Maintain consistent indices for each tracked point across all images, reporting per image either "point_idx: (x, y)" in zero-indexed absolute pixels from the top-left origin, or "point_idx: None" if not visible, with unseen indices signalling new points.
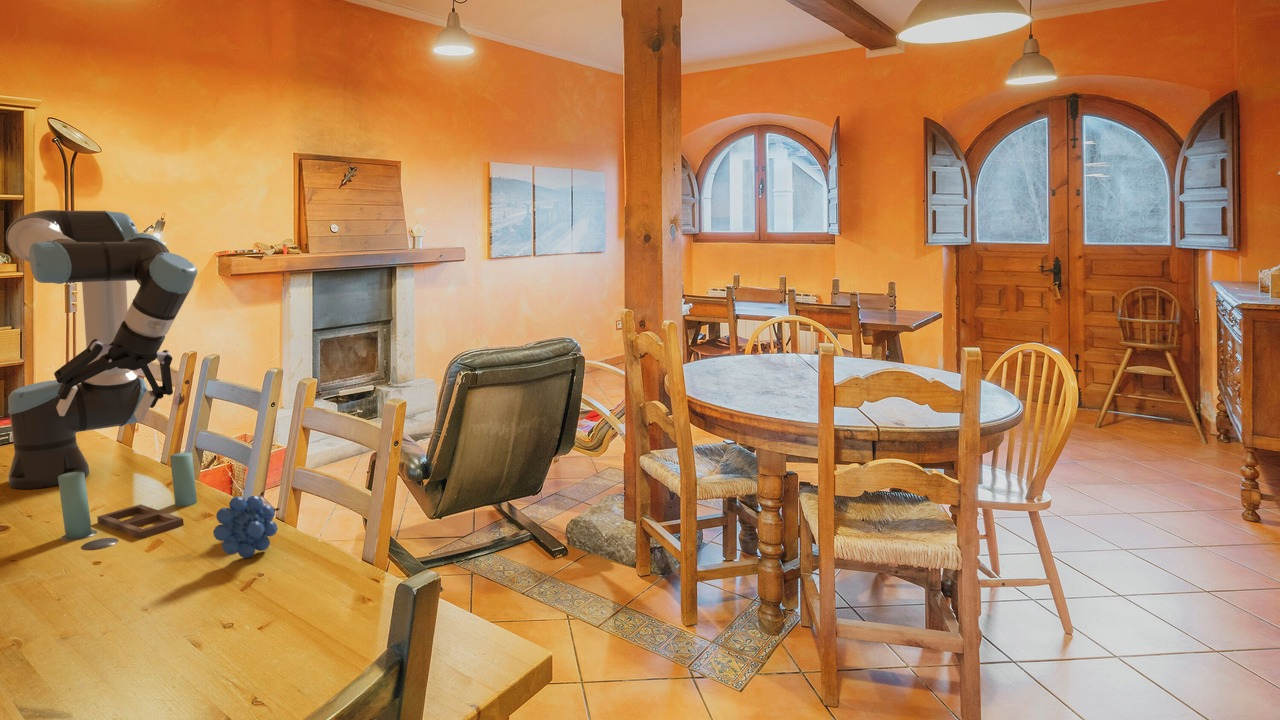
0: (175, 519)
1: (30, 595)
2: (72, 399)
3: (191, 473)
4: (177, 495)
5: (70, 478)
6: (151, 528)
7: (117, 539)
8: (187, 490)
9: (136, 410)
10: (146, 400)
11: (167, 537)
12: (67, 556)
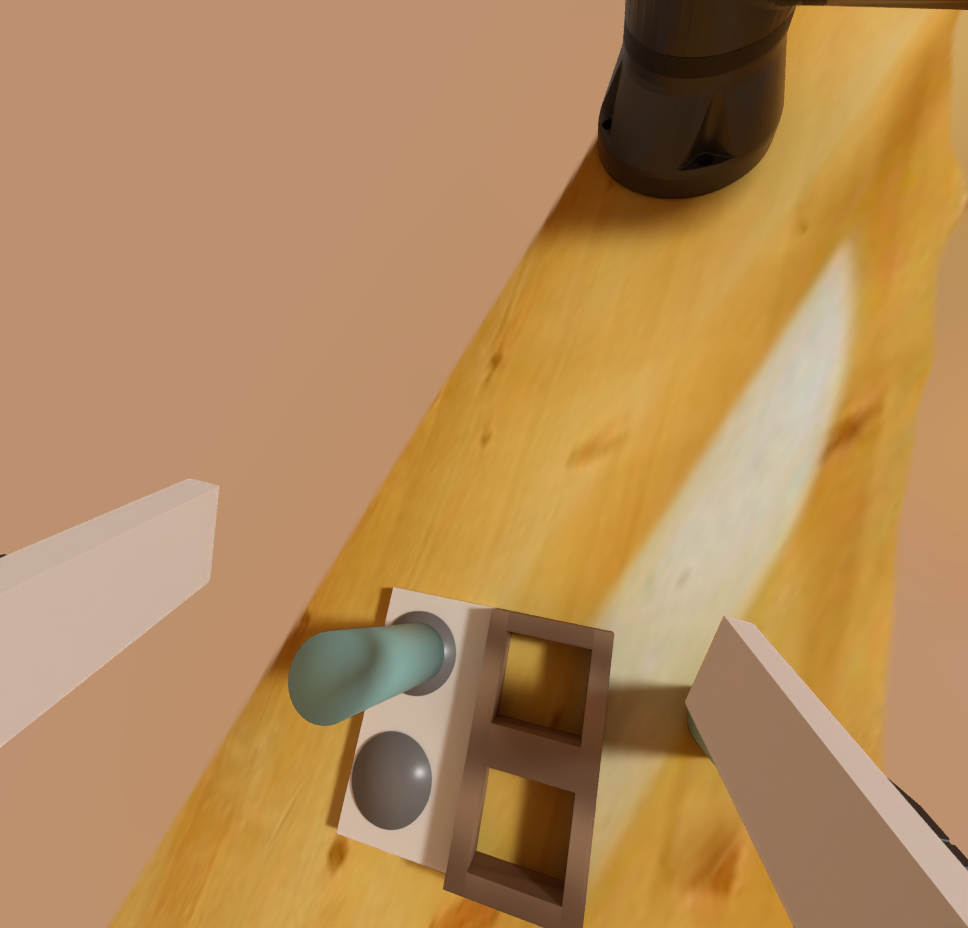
0: (565, 915)
1: (178, 871)
2: (67, 692)
3: None
4: (701, 741)
5: (301, 712)
6: (478, 899)
7: (426, 801)
8: None
9: (744, 648)
10: (822, 896)
11: None
12: (348, 723)
